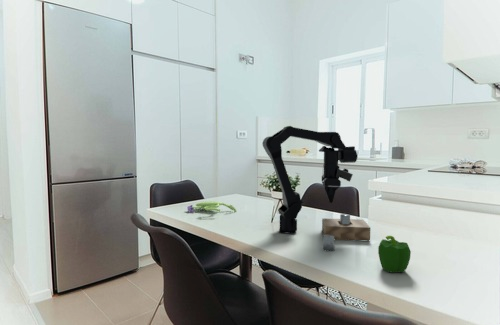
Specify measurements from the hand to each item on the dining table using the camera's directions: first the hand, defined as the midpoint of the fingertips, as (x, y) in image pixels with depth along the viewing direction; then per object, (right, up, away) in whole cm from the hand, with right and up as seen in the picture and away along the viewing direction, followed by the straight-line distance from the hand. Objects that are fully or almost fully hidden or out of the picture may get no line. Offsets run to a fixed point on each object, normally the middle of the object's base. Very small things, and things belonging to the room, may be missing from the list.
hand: (330, 200), depth 130 cm
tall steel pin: (+4, -13, -8) cm, 15 cm away
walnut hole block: (+4, -12, -8) cm, 15 cm away
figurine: (-53, -10, +34) cm, 64 cm away
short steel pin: (-7, -14, -24) cm, 28 cm away
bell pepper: (+7, -15, -41) cm, 44 cm away
